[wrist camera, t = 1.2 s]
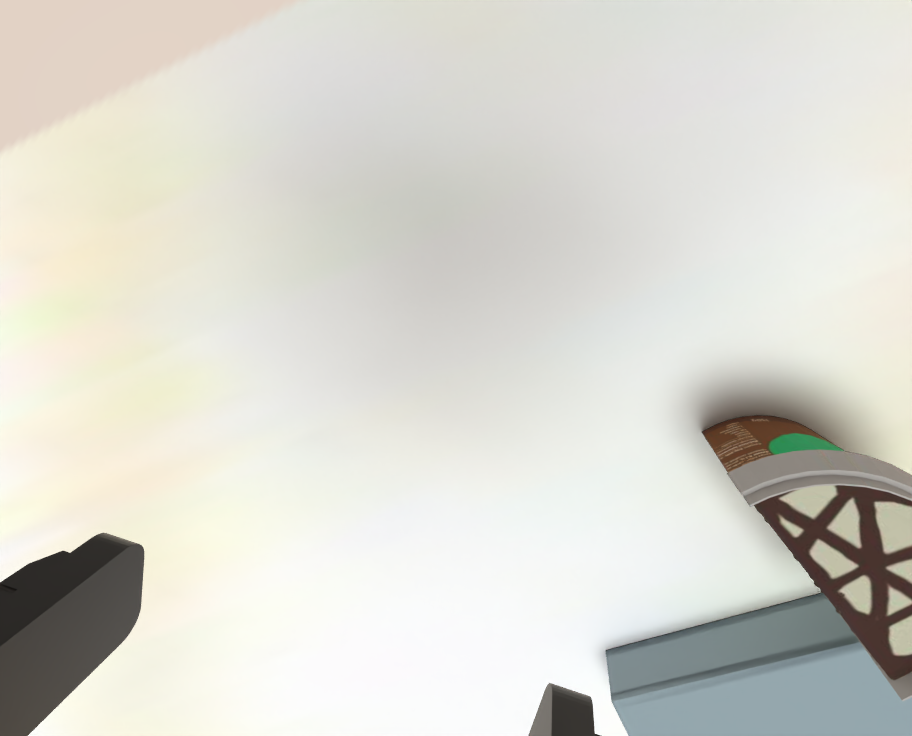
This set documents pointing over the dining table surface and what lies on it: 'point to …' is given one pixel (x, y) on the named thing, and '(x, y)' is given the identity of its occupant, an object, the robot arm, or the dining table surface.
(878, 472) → the food container
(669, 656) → the book
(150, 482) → the dining table surface
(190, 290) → the dining table surface
